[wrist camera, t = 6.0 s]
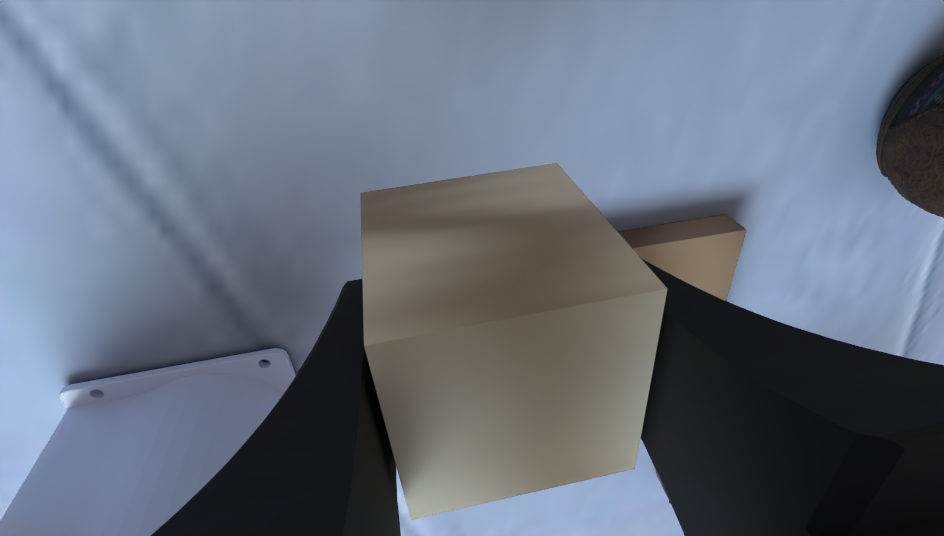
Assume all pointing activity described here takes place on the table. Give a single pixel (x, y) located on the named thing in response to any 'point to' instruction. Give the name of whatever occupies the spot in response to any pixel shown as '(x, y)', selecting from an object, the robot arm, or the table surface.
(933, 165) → the mate gourd
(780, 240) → the table surface
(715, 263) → the light brown wooden block
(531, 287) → the maple cube
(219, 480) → the robot arm
